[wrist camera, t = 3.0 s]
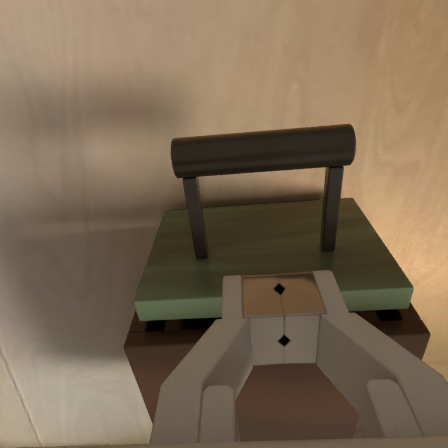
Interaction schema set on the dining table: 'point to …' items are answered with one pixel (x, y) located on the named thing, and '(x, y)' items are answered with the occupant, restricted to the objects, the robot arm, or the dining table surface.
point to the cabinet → (268, 381)
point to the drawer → (265, 230)
